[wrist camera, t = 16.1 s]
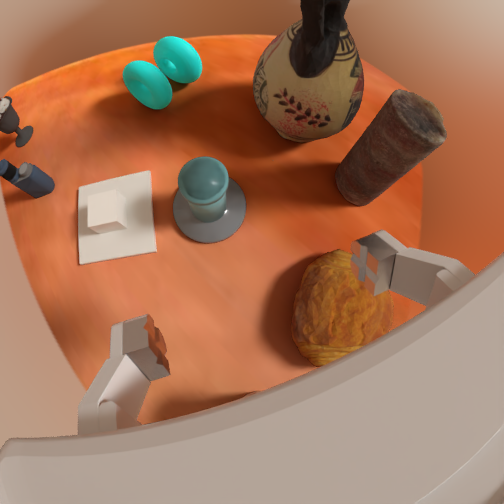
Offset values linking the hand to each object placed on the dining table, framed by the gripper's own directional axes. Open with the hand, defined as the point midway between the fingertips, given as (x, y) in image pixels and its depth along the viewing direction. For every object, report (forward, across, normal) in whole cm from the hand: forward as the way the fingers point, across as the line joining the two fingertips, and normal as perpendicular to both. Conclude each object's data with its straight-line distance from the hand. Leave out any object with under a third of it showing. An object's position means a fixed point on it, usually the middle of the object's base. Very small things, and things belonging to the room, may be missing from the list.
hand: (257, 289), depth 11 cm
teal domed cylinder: (+28, -1, +9) cm, 29 cm away
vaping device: (+39, +25, 0) cm, 46 cm away
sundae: (+49, +30, -11) cm, 59 cm away
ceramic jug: (+35, -18, +2) cm, 40 cm away
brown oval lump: (+15, -13, +24) cm, 31 cm away
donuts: (+45, 0, -7) cm, 45 cm away
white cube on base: (+31, +12, +7) cm, 34 cm away
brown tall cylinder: (+26, -23, +11) cm, 37 cm away
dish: (+28, -1, +10) cm, 30 cm away
